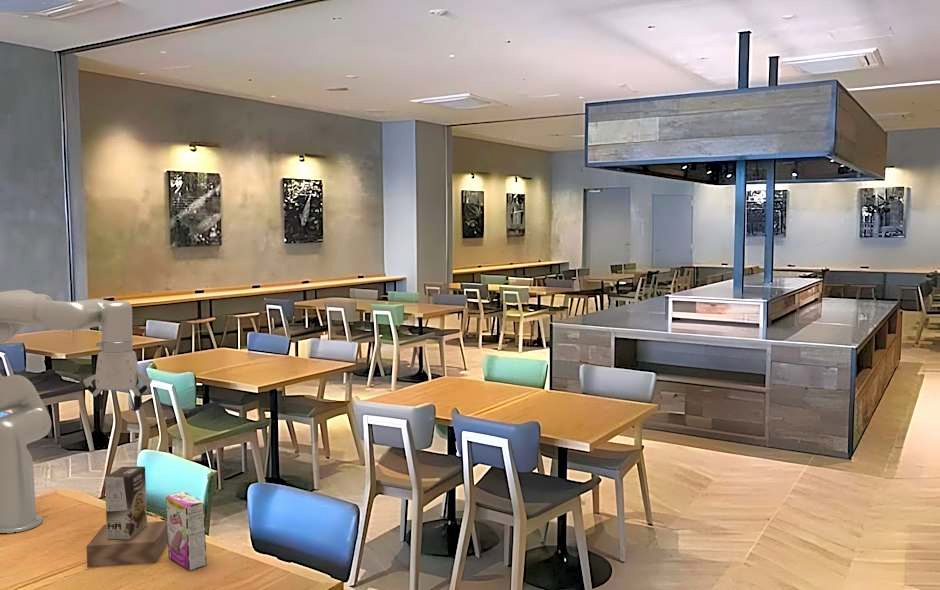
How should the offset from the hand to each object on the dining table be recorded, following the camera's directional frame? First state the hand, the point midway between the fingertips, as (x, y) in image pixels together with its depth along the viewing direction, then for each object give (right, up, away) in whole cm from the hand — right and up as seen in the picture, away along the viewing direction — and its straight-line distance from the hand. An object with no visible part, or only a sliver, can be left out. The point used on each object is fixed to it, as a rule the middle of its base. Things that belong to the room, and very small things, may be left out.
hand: (118, 409), depth 208 cm
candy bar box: (+25, -36, -16) cm, 46 cm away
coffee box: (+8, -30, -11) cm, 33 cm away
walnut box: (+8, -36, -11) cm, 38 cm away
